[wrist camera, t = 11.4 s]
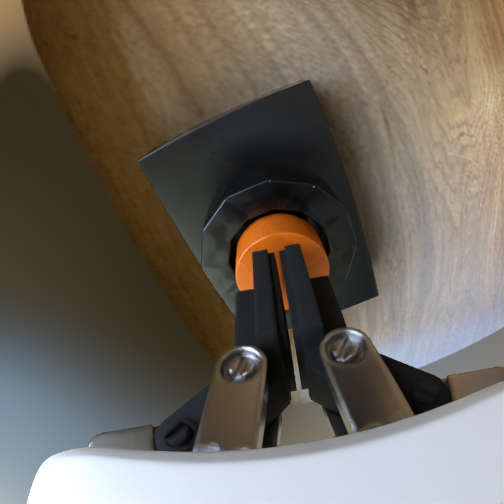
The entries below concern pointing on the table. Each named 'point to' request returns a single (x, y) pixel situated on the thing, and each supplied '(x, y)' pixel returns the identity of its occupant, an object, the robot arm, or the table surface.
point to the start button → (279, 247)
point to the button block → (262, 187)
